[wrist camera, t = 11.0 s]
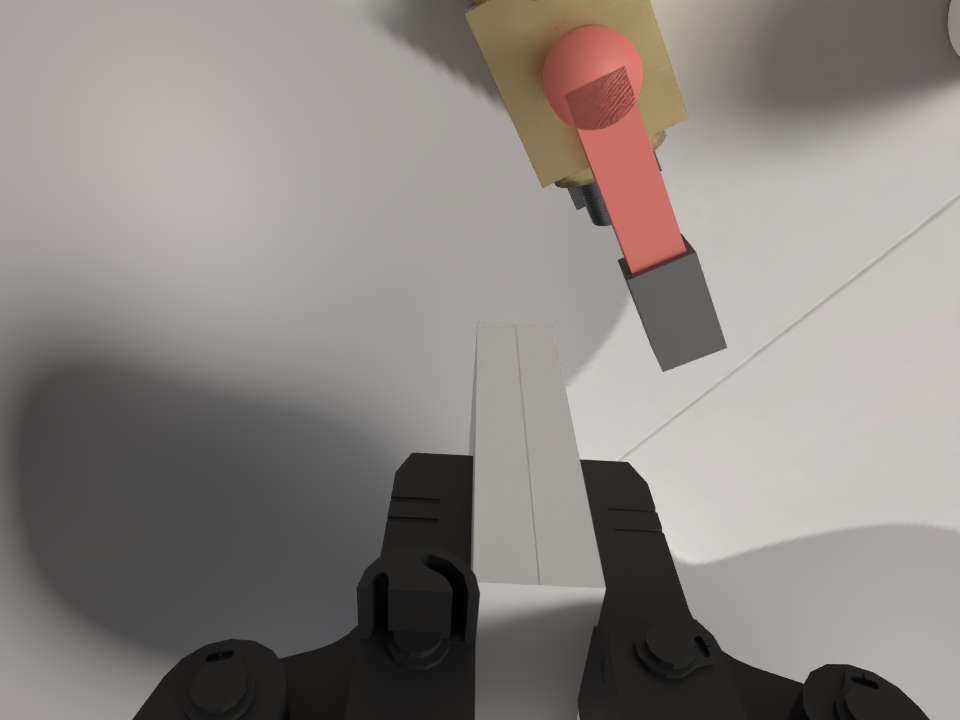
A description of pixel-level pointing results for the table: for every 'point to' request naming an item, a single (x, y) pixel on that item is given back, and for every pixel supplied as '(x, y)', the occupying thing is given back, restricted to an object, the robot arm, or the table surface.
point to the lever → (633, 189)
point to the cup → (954, 24)
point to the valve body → (519, 78)
